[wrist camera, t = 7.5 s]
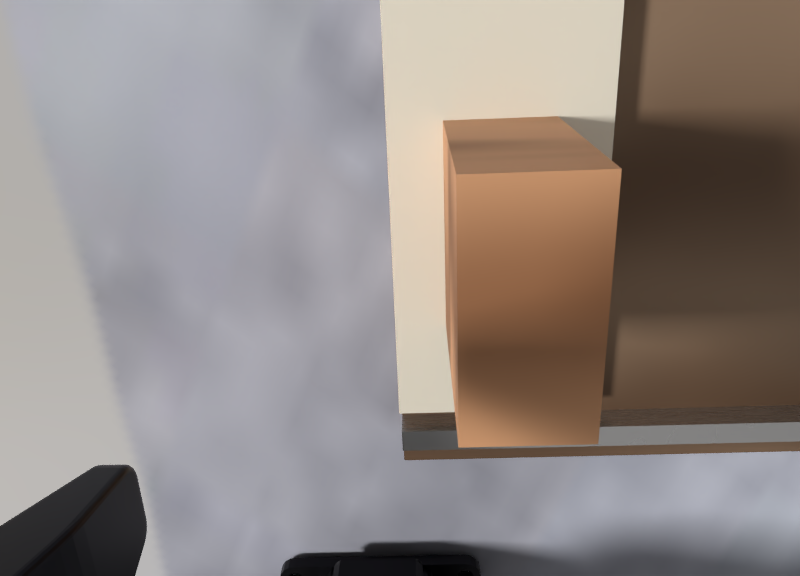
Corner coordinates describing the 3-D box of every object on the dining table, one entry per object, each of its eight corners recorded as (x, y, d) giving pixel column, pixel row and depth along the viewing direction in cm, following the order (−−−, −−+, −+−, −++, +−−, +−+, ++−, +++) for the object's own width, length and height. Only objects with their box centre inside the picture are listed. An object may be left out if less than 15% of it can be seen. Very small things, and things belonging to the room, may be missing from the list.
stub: (587, 396, 19) (654, 551, 13) (399, 401, 19) (395, 555, 13) (617, -11, 15) (729, -16, 9) (381, -2, 15) (364, 0, 10)
